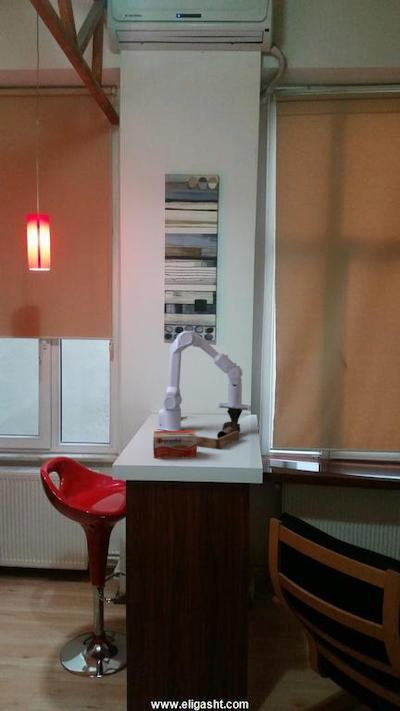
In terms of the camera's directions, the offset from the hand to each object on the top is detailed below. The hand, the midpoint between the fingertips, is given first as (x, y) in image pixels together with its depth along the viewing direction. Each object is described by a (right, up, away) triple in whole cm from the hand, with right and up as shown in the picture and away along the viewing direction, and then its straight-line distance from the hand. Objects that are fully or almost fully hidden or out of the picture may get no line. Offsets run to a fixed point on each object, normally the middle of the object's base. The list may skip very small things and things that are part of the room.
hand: (234, 425), depth 210 cm
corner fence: (-9, -4, -18) cm, 21 cm away
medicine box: (-24, -5, -37) cm, 44 cm away
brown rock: (-3, -4, -9) cm, 10 cm away
